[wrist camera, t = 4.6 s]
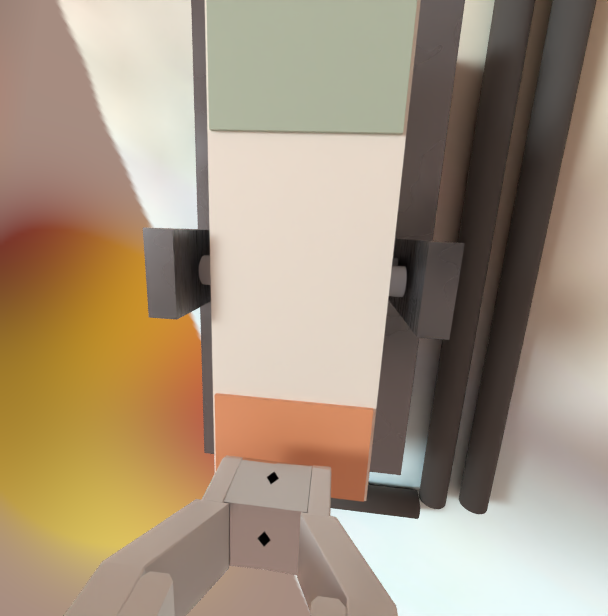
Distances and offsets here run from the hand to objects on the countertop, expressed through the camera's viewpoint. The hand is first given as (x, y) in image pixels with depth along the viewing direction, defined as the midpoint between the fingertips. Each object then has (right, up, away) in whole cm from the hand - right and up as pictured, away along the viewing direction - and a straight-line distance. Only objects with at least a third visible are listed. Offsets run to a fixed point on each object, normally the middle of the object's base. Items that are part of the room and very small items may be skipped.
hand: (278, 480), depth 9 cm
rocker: (+1, +6, +1) cm, 6 cm away
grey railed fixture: (+5, +7, +7) cm, 11 cm away
